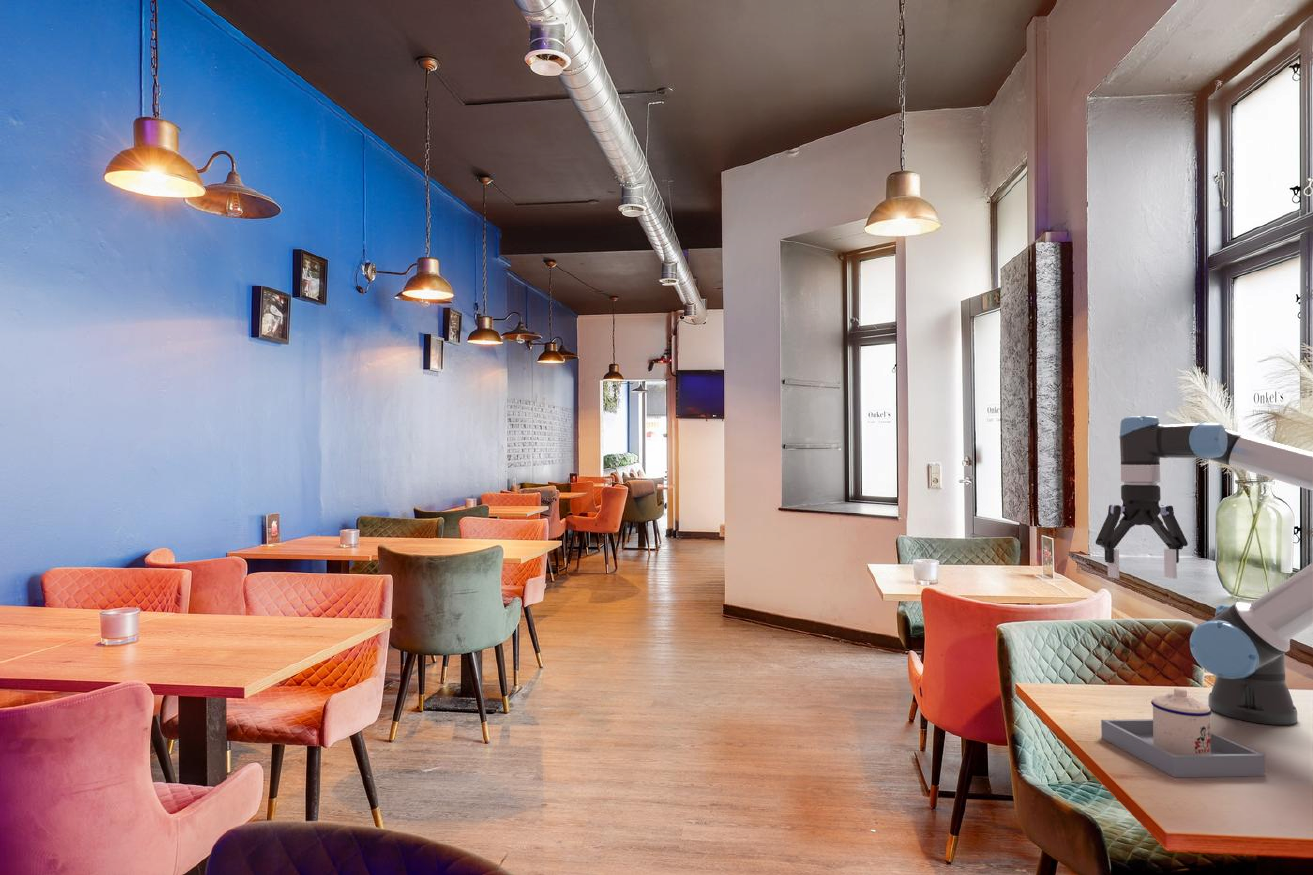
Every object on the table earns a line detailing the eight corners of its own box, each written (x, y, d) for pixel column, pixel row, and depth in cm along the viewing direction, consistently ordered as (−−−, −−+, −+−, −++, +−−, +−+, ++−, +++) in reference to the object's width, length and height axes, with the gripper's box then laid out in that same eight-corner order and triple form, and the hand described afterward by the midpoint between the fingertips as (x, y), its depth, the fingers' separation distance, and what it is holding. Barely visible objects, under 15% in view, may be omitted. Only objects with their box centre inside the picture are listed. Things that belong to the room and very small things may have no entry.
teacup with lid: (1208, 767, 128) (1206, 700, 129) (1147, 752, 134) (1145, 689, 135) (1218, 749, 137) (1217, 686, 137) (1160, 736, 143) (1159, 676, 143)
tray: (1181, 736, 145) (1180, 718, 145) (1265, 775, 127) (1264, 755, 127) (1101, 737, 144) (1101, 719, 144) (1174, 777, 126) (1173, 756, 126)
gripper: (1179, 484, 171) (1181, 575, 170) (1077, 483, 169) (1078, 575, 168) (1205, 484, 164) (1207, 580, 163) (1099, 483, 162) (1100, 580, 161)
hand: (1142, 577), depth 166 cm, fingers open, 13 cm apart
